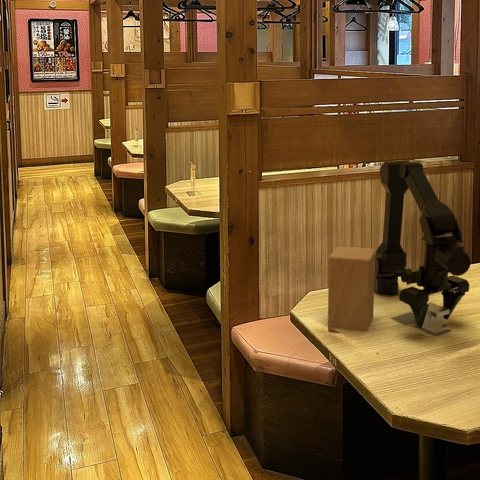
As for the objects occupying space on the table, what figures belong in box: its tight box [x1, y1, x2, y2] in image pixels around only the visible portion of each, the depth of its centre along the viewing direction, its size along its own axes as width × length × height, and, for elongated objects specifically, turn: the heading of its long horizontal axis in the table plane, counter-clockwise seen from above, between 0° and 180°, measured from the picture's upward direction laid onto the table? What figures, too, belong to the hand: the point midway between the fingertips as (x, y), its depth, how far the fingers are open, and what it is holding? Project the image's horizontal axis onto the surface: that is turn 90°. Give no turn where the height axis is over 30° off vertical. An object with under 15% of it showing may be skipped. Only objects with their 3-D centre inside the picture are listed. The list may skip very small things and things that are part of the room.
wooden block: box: [327, 245, 376, 334], centre depth 167 cm, size 10×10×20 cm
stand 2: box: [413, 325, 452, 338], centre depth 164 cm, size 7×6×2 cm
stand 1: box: [390, 311, 416, 326], centre depth 171 cm, size 6×7×2 cm
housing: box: [418, 301, 450, 335], centre depth 164 cm, size 4×6×6 cm
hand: (432, 323), depth 164 cm, fingers open, 9 cm apart
